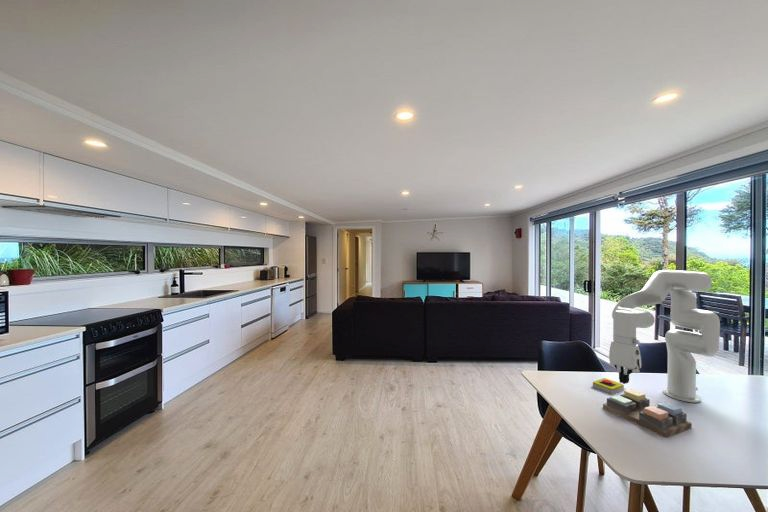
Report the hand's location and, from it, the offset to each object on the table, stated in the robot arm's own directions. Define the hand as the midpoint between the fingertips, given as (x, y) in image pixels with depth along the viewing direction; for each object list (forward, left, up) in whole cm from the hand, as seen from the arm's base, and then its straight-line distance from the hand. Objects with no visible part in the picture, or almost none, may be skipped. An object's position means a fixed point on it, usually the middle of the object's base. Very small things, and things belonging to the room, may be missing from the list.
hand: (623, 382), depth 125 cm
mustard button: (-9, -1, -9) cm, 13 cm away
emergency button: (-19, -18, -14) cm, 29 cm away
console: (-4, +5, -13) cm, 15 cm away
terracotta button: (+1, +11, -9) cm, 15 cm away
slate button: (-9, +11, -9) cm, 17 cm away
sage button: (+1, -1, -11) cm, 11 cm away
